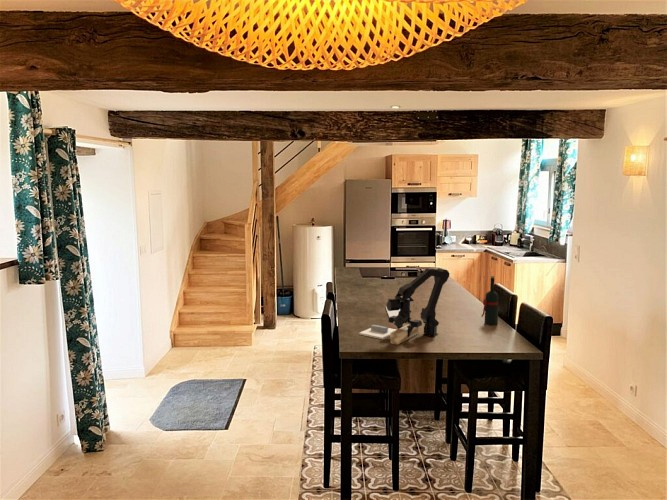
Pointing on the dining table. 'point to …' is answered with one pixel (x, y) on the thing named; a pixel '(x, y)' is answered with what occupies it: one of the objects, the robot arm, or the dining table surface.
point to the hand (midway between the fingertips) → (404, 336)
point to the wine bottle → (491, 305)
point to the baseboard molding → (393, 312)
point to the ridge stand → (377, 332)
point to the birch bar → (402, 334)
